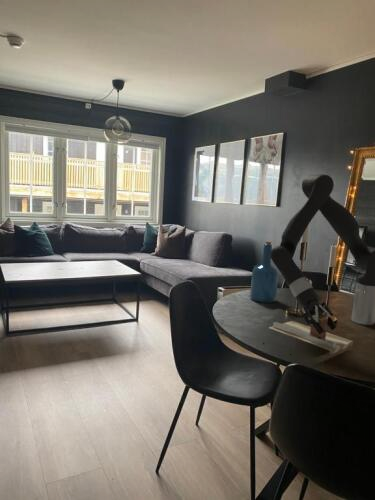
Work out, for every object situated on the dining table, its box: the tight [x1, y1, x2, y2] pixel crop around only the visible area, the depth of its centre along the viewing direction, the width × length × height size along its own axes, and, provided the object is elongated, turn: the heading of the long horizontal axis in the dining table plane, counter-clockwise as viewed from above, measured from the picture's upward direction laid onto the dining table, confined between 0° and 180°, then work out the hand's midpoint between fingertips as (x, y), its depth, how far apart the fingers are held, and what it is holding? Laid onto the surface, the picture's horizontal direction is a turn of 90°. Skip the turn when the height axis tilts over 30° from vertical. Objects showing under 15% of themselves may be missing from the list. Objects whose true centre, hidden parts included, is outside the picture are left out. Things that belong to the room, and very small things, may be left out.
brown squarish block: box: [310, 314, 328, 339], centre depth 139 cm, size 4×4×9 cm
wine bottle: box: [249, 241, 279, 304], centre depth 193 cm, size 14×13×30 cm
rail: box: [272, 321, 335, 349], centre depth 140 cm, size 2×25×2 cm, turn 41°
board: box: [268, 320, 354, 356], centre depth 144 cm, size 16×26×2 cm, turn 41°
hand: (328, 331), depth 136 cm, fingers open, 8 cm apart
